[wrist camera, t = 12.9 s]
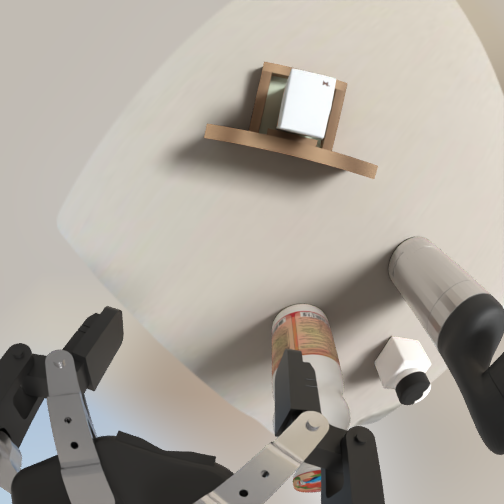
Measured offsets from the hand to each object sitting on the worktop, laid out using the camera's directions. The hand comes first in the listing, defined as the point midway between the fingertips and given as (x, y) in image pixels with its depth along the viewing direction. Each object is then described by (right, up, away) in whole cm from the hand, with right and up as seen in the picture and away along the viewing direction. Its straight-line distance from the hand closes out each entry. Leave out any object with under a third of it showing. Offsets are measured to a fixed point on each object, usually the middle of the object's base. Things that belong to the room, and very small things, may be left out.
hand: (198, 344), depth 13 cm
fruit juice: (+10, -8, +34) cm, 36 cm away
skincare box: (+8, +22, +20) cm, 31 cm away
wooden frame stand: (+8, +22, +21) cm, 31 cm away
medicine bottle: (+30, -15, +36) cm, 49 cm away
